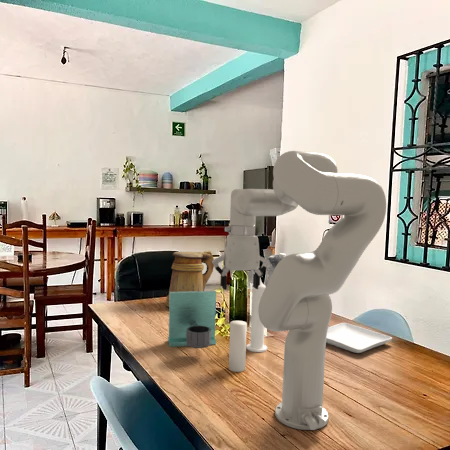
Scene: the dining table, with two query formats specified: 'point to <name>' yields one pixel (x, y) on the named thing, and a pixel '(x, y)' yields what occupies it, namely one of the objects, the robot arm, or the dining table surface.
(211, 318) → the cup bracket
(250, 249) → the robot arm
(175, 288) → the tankard
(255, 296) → the candle
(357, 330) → the salad plate
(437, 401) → the dining table surface
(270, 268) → the juice carton
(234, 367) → the white cylinder
